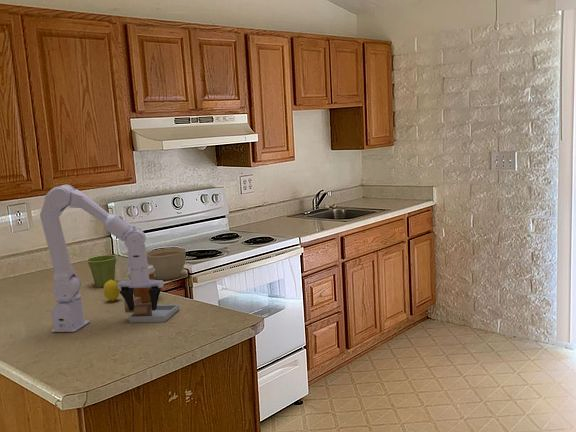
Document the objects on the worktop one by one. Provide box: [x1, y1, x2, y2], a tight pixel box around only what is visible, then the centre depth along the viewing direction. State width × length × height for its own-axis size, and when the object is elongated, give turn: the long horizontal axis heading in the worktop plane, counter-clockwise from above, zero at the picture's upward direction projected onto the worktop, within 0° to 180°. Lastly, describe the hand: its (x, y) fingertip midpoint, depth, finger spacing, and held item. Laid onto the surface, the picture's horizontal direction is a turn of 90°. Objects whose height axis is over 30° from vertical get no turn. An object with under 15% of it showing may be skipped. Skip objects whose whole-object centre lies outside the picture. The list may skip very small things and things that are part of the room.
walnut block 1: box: [123, 296, 142, 313], centre depth 192 cm, size 4×4×4 cm
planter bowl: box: [146, 247, 187, 281], centre depth 235 cm, size 16×16×11 cm
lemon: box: [103, 280, 121, 302], centre depth 205 cm, size 6×6×8 cm
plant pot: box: [85, 254, 118, 288], centre depth 230 cm, size 12×12×11 cm
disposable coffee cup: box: [126, 265, 155, 304], centre depth 202 cm, size 10×10×12 cm
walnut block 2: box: [134, 302, 152, 316], centre depth 181 cm, size 4×4×4 cm
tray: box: [127, 304, 180, 324], centre depth 184 cm, size 12×12×2 cm
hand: (143, 309), depth 181 cm, fingers open, 7 cm apart
